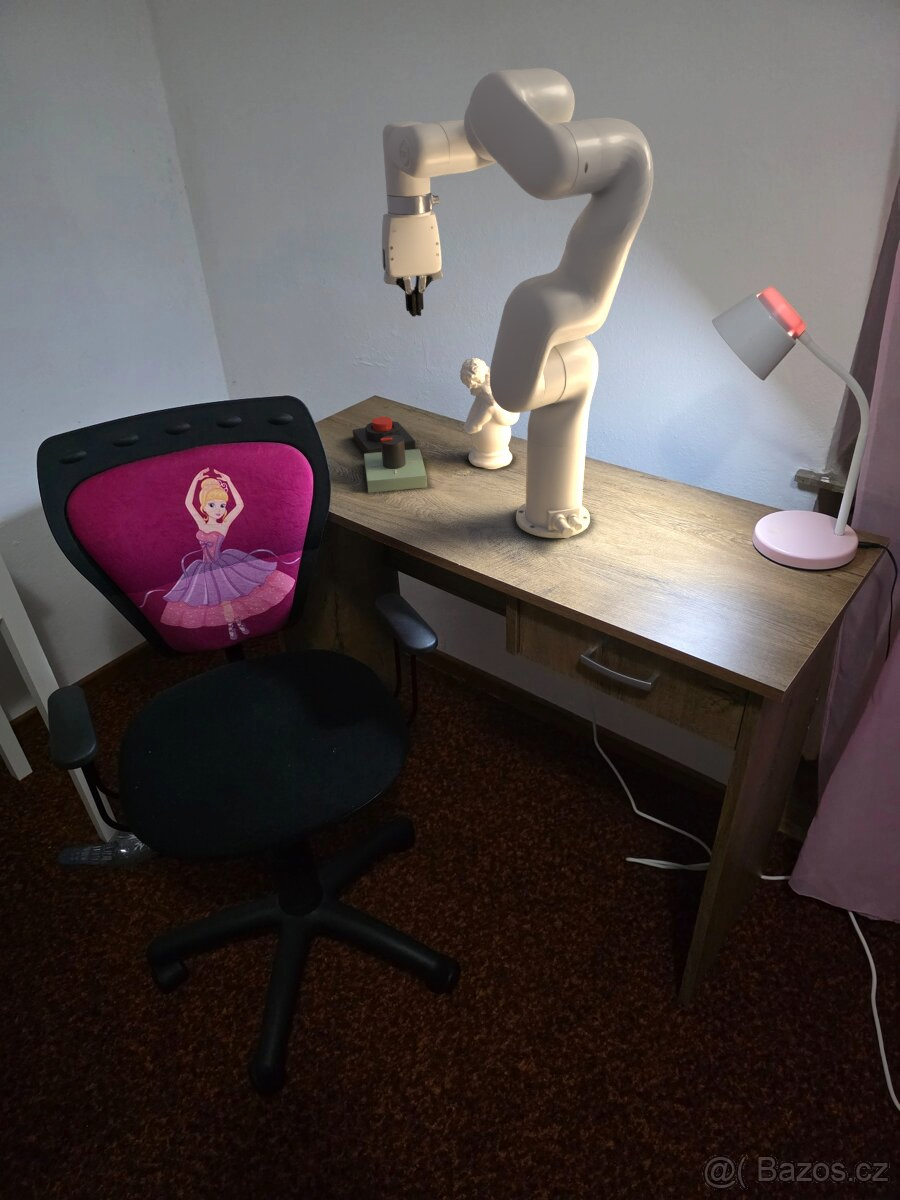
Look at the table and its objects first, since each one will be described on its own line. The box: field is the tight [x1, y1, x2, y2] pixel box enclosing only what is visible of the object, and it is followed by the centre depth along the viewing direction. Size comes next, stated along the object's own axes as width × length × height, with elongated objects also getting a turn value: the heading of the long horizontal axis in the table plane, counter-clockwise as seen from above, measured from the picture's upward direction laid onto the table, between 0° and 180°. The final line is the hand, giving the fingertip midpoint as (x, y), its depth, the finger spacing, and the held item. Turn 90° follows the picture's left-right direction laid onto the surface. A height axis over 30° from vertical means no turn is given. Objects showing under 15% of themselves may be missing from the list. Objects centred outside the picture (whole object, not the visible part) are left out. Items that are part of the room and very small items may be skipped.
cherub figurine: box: [459, 356, 520, 470], centre depth 154 cm, size 12×12×22 cm
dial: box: [381, 435, 406, 469], centre depth 151 cm, size 4×4×5 cm
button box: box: [352, 420, 416, 455], centre depth 165 cm, size 11×10×4 cm
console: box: [363, 448, 428, 493], centre depth 153 cm, size 12×11×3 cm
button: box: [371, 416, 393, 431], centre depth 163 cm, size 4×4×2 cm
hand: (415, 314), depth 148 cm, fingers closed
